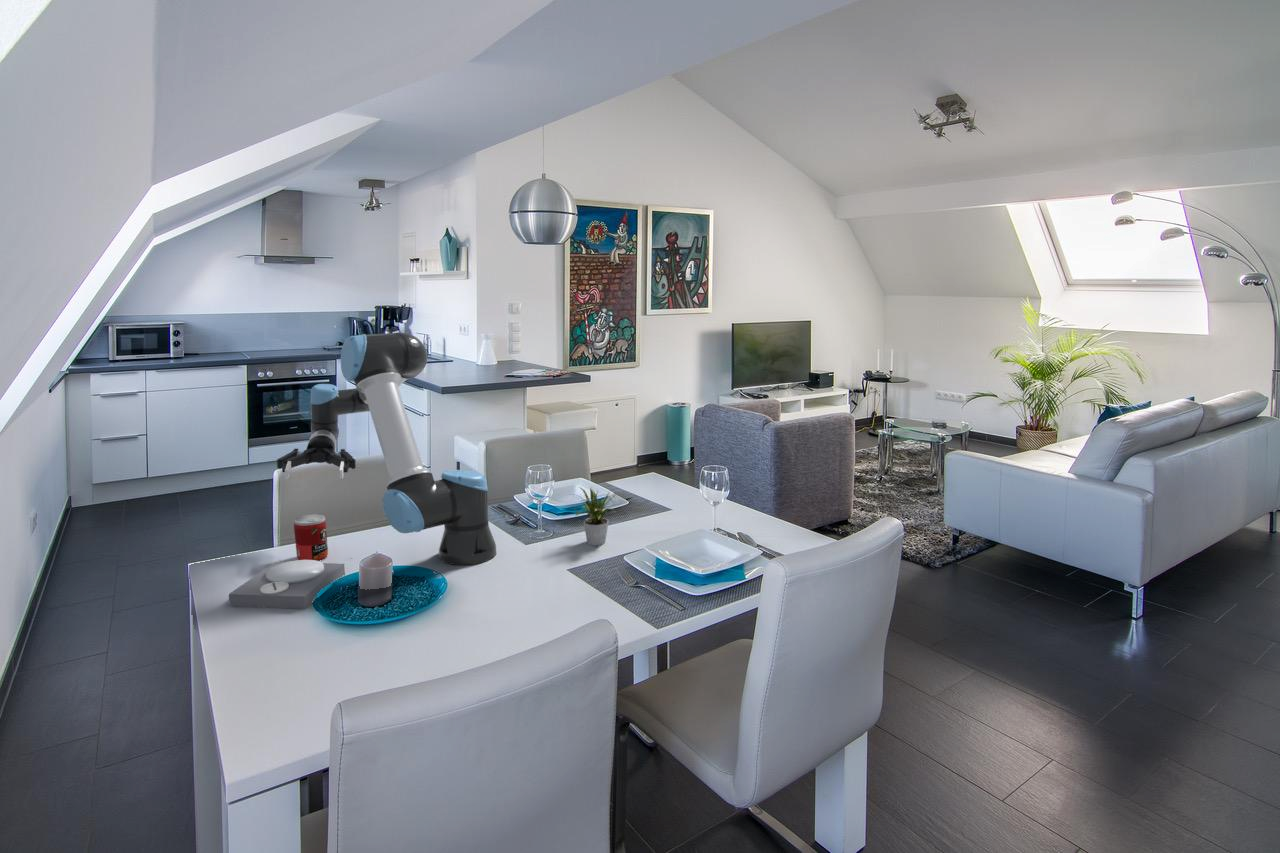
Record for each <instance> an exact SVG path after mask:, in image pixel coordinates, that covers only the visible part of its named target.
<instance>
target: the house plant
mask: <svg viewBox="0 0 1280 853" xmlns="http://www.w3.org/2000/svg"><path fill="white" fill-rule="evenodd" d="M578 488H579V489H580V490H581V491H582V493H583V494H584V497H585V498H586V500H585V499H584V498H582V500H583V502H584V503H583V505H581V507H582V508H584V509H585V511H584V510H581V511H580V510H579V509H577V508H575V510H576V511H578V512H576V514H575V516H578V515H580V514H582V515H584V513H586V514H587V515H589V517H587V518H585V519H584V520H583V526H584V532H585V537H586V542H587V544H588V545H591V546H602V545H603V544H605V543H606V541H607V532H608V528H609V519H607V518H606V517H607V516H609V514H612V513H617V511H615V509H614V508H605V507H606V506H607V504H609V503H610V501H611V500H612V499H613V498H615V497H616V496H618V495H620V493H617V494H615V495H613V496H612V497H611V498H610V499H609V500H607V499H608V496H609V494H610V491H608V493H607V495H605V498H604V499H601V500H600V501H598V494H599V491H597V493H596V492H595V491H594V490H593V489H592V487H591V486H590V487H589V491H590V498H589V496H588V494H587V492H586V490H585V489H584V488H582V487H580V486H578ZM570 495H573V496H575V494H573V493H570ZM576 496H577V497H575V498H577V499H578V497H580V498H581V496H580V495H576ZM606 500H607V501H606ZM610 510H612V511H611V512H608V511H610ZM607 512H608V513H607ZM606 513H607V514H606ZM605 514H606V515H605ZM604 515H605V517H604Z"/></svg>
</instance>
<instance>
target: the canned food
mask: <svg viewBox="0 0 1280 853" xmlns="http://www.w3.org/2000/svg"><path fill="white" fill-rule="evenodd" d="M293 530H294V531H293V532H294V539H295V540H294V541H295V542H294V543H295V551H296V558H297V560H316V561H319V562H321V561H324V560H325V559H327V557H328V556H327V555H329V547H328V537H327V536H328V534H327V533H328V532H327V523H326V518H325V515H323V514H315V513H314V514H306V515H305V514H304V515H300V516H298V517H295V518H294V519H293ZM320 560H321V561H320Z"/></svg>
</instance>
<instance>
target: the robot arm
mask: <svg viewBox="0 0 1280 853" xmlns="http://www.w3.org/2000/svg"><path fill="white" fill-rule="evenodd" d="M428 360H429V359H428V351H427V348H426V347H425V345H424V343H423V342H422V341H421V340H420V339H419V338H418V337H417V336H414V335H412V334H410V333H407V332H402V331H401V332H388V333H372V334H371V333H370V334H366V333H362V334H358V335H351V336H348V337H347V338H346V339H345V341H344V342H343V344H342V347H341V351H340V369H341V373H342V376H343V378H345V379H344V380H346V381H347V382H354V384H355V388H348V389H338V386H336V385H334V384H332V383H331V384H330V383H318V384H315V385H314V386H312V387H311V390H310V416H311V417H310V431H311V432H310V437H309V440H308V442H307V443H308V444H307V446H306V449H305V450H302V451H301V450H299V448H294V449H293V450H292V451H290V452H288V453H287V454H285V455H282V456H281V457H279V458H277V459H276V466H277V469H278V470H279V469H281V470H282V471H281V472H282V473H284V480H289V478H290V475H291V473H292V472H291V471H292V469H293V468H295V467H298V466H302V465H304V464H306V465H309V464H311V463H316V464H317V463H318V464H323V463H326V464H328V465H331V464H332V465H334V466H337V467H338V468H339V470H338V471H339V472H338V473H339V480H343V478H344V475H345V474H344V473H348V472H349V470H350V469H352V470H354V469H356V468H357V467H356V461H357V460H356V459H355V458H354V457H353V456H351V455H350V454H349V453H348V452H346V449H345V448H340V450H339V451H336V446H337V441H338V438H339V433H340V430H339V425H338V423H339V416H342V415H351V414H357V413H366V412H370V415H371V416H370V417H371V419H372V422H373V425H374V429H375V433H376V434H377V438H378V443H379V446H380V448H381V449H380V450H381V452H382V455H383V458H384V461H385V465H386V468H387V471H388V474H389V480H388V483H387V484H386V490H387V491H385V492H384V494H383V497H382V504H383V505H382V508H383V512H384V514H385V517H386V520H387V521H388V523H389V524H390V525H391V527H392V528H393V529H394V530H396V531H397V532H398V533H401V534H410V533H419V532H422V531H424V530H426V529H427V530H428V529H431V528H436V527H441V526H443V525H444V531H443V533H442V537H441V540H440V544H439V548H438V556H439V557H438V558H439V559H440V561H442V562H443V563H447V564H448V565H450V564H451V565H456V566H457V565H459V566H461V565H462V566H464V565H475V564H481V563H483V562H487V561H489V560H492V559H493V558H494V557H495V556H496V555H497V545H496V541H495V539H494V535H493V534H492V531H491V528H490V526H489V524H490V523H489V500H488V497H489V496H488V491H489V489H488V483H487V478H486V476H485V475H484V474H483V473H480V472H478V471H472V470H466V469H451V470H449V469H448V470H445V471H443V472H442V473H441V476H440V478H441V479H439V480H438V479H436V480H435V479H434V477H433V476H434V475H433V473H432V471H430V470H428V469H425V467H424V465H423V461H422V457H421V455H420V451H419V448H418V445H417V442H416V439H415V437H414V436H415V435H414V433H413V429H412V427H411V426H412V425H411V422H410V420H409V417H408V412H407V411H406V408H405V405H404V402H403V397H402V395H401V392H400V386H401V385H402V384H403V383H405V382H406V381H407V380H411V379H414V378H416V377H417V376H419V375H420V374H421V373H422V372H423V371H424V369H425V368H426V365H427V363H428Z"/></svg>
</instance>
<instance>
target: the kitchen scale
mask: <svg viewBox="0 0 1280 853" xmlns="http://www.w3.org/2000/svg"><path fill="white" fill-rule="evenodd" d="M343 575H344V576H346V571H345V563H330V562H326V563H325V562H322V561H316V560H298V559H297V560H290V561H275V562H273V563H271V564H270V565H268V566H267V567H266V568H264V569H263V570H261V571H260V572H259V573H257V574H255V575H254V576H253V577H251V578H250V579H248V580H247V581H246V582H244V583H243V584H241V585H240V586H238V587H237V588H236V589H234V590H232V591H231V592H230V593H228V600H229V607H236V608H239V607H240V608H241V607H242V608H244V607H245V608H269V609H270V608H271V609H273V608H274V609H299V610H306V609H307V608H309V606H311V605H312V604H313V603H312V601H313V599H314V597H315V596H316V595H317V593H318V592H319V591H320V590H321V589H322V588H324V587H325V586H327V585H328V584H330V583H331V582H333V581H334V580H336V579H338V578H340V577H342V576H343ZM344 576H343V577H344ZM343 577H342V578H343Z"/></svg>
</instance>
